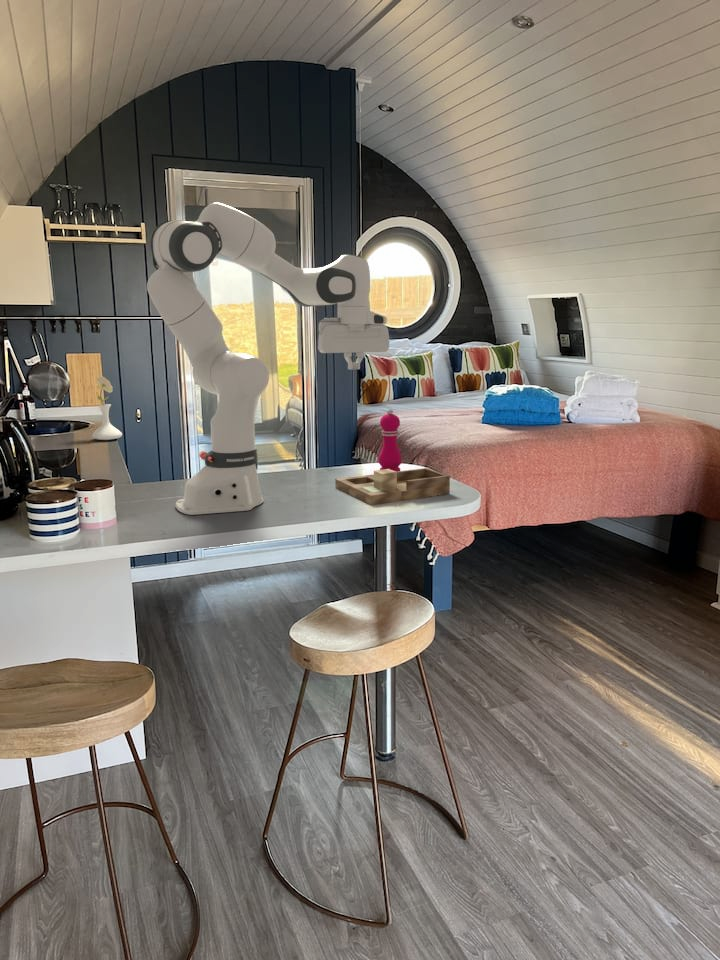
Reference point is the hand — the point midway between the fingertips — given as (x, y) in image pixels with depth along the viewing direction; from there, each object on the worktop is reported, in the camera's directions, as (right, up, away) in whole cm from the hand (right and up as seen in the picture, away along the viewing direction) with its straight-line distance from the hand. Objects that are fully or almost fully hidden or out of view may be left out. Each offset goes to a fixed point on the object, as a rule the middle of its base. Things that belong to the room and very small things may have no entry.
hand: (354, 369), depth 205 cm
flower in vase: (-99, -14, +92) cm, 136 cm away
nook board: (+10, -33, +2) cm, 35 cm away
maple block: (+8, -32, -5) cm, 34 cm away
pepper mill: (+11, -29, +23) cm, 38 cm away
